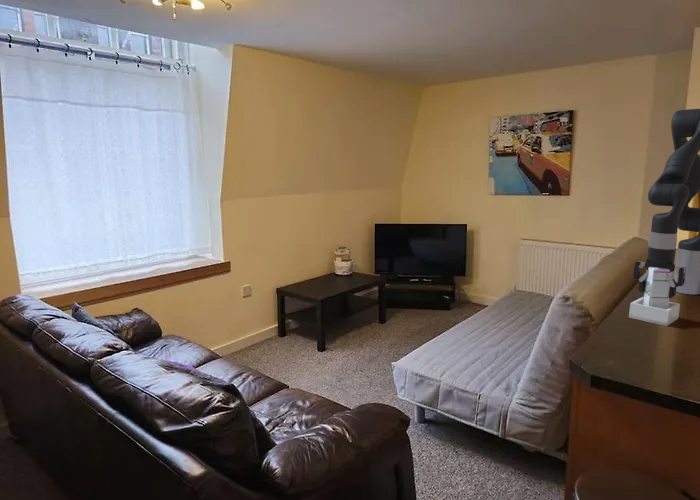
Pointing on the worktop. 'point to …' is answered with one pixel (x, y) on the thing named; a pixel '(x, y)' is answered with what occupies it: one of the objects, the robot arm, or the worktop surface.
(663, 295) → the syrup box
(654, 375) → the worktop surface
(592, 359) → the worktop surface
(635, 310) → the bin
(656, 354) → the worktop surface
